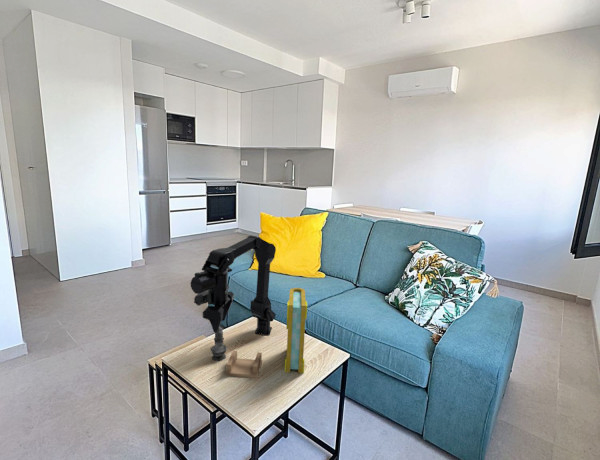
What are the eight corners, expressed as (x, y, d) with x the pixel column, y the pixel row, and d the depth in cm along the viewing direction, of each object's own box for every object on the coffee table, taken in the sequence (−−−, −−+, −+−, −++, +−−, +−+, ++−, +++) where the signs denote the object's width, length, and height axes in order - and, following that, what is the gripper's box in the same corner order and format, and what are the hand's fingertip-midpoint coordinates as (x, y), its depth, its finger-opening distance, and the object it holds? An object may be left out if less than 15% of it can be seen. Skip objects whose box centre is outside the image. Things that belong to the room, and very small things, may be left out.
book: (303, 373, 115) (307, 305, 110) (284, 372, 115) (287, 305, 110) (303, 347, 131) (306, 288, 127) (286, 346, 131) (288, 287, 127)
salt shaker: (207, 359, 120) (207, 329, 118) (216, 351, 126) (216, 322, 124) (221, 363, 118) (221, 332, 116) (229, 354, 124) (230, 325, 122)
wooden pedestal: (232, 360, 120) (232, 350, 120) (262, 362, 120) (262, 352, 119) (225, 375, 111) (225, 364, 111) (257, 377, 111) (257, 367, 110)
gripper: (205, 275, 127) (206, 313, 129) (186, 293, 108) (187, 337, 111) (234, 277, 126) (234, 315, 129) (220, 295, 108) (220, 339, 111)
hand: (219, 326), depth 120 cm, fingers open, 9 cm apart
